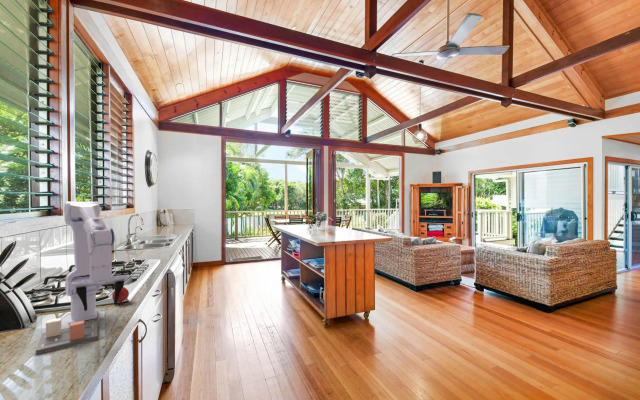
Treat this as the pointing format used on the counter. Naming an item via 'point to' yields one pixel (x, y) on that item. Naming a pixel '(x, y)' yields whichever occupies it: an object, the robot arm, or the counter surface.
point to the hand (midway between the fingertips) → (101, 306)
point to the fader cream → (53, 327)
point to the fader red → (76, 330)
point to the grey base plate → (66, 339)
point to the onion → (122, 295)
